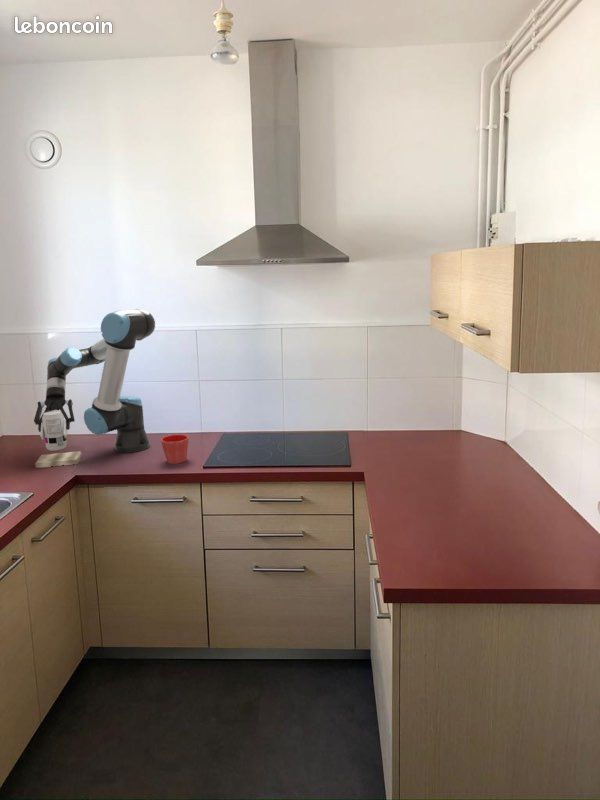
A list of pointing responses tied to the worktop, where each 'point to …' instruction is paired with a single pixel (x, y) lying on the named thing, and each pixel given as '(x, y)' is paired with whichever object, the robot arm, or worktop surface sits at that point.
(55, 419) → the supplement can
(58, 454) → the birch board
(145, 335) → the robot arm
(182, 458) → the flower pot
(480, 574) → the worktop surface
